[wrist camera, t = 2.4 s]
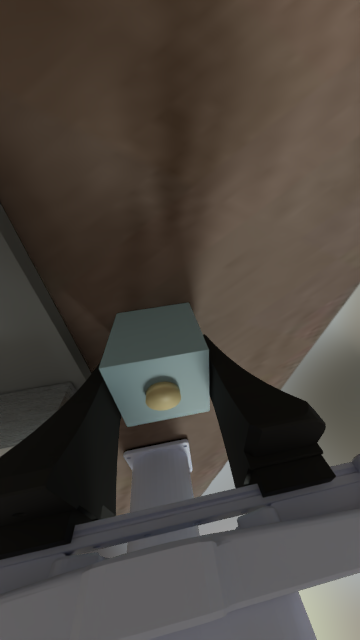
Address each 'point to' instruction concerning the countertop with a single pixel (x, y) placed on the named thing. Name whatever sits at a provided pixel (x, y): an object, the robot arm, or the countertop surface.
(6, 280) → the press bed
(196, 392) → the housing
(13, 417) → the block
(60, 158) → the countertop surface
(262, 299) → the countertop surface
